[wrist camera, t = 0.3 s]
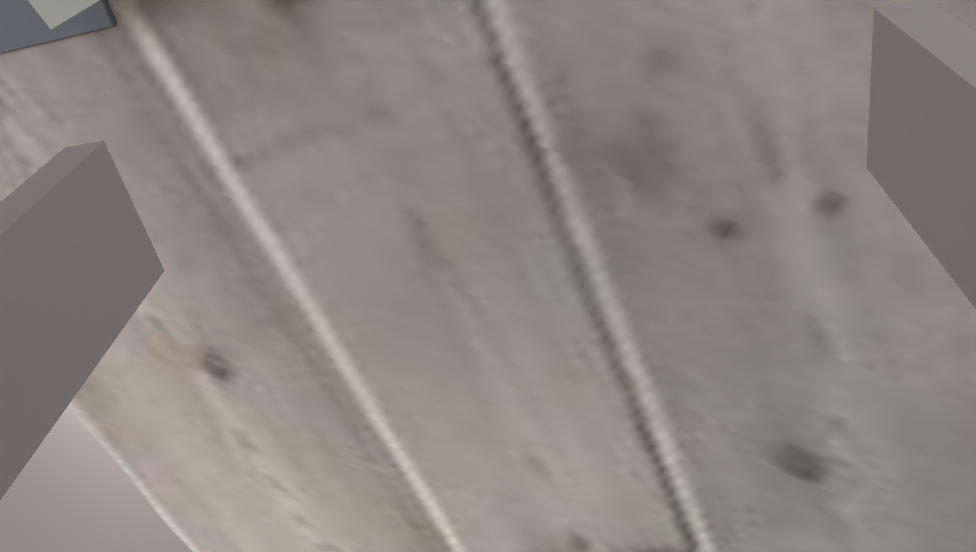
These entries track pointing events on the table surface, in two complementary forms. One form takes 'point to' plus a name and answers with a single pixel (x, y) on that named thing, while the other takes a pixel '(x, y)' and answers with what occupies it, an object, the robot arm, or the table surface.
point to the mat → (16, 24)
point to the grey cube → (59, 9)
